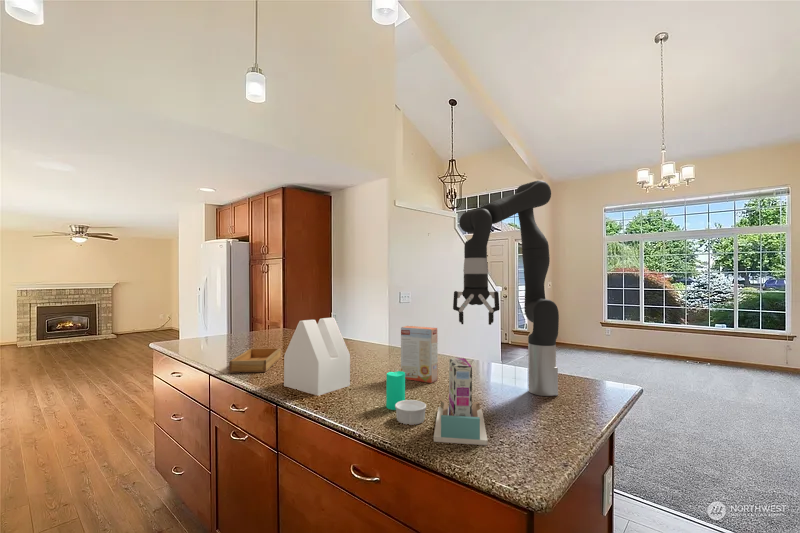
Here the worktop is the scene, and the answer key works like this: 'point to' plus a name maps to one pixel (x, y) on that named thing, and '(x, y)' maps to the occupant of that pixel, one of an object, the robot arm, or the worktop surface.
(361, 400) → the worktop surface
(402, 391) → the candle
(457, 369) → the candy bar box
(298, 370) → the slotted house block
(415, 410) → the ramekin
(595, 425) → the worktop surface
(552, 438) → the worktop surface
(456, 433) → the slot board
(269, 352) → the tray
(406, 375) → the cracker box
